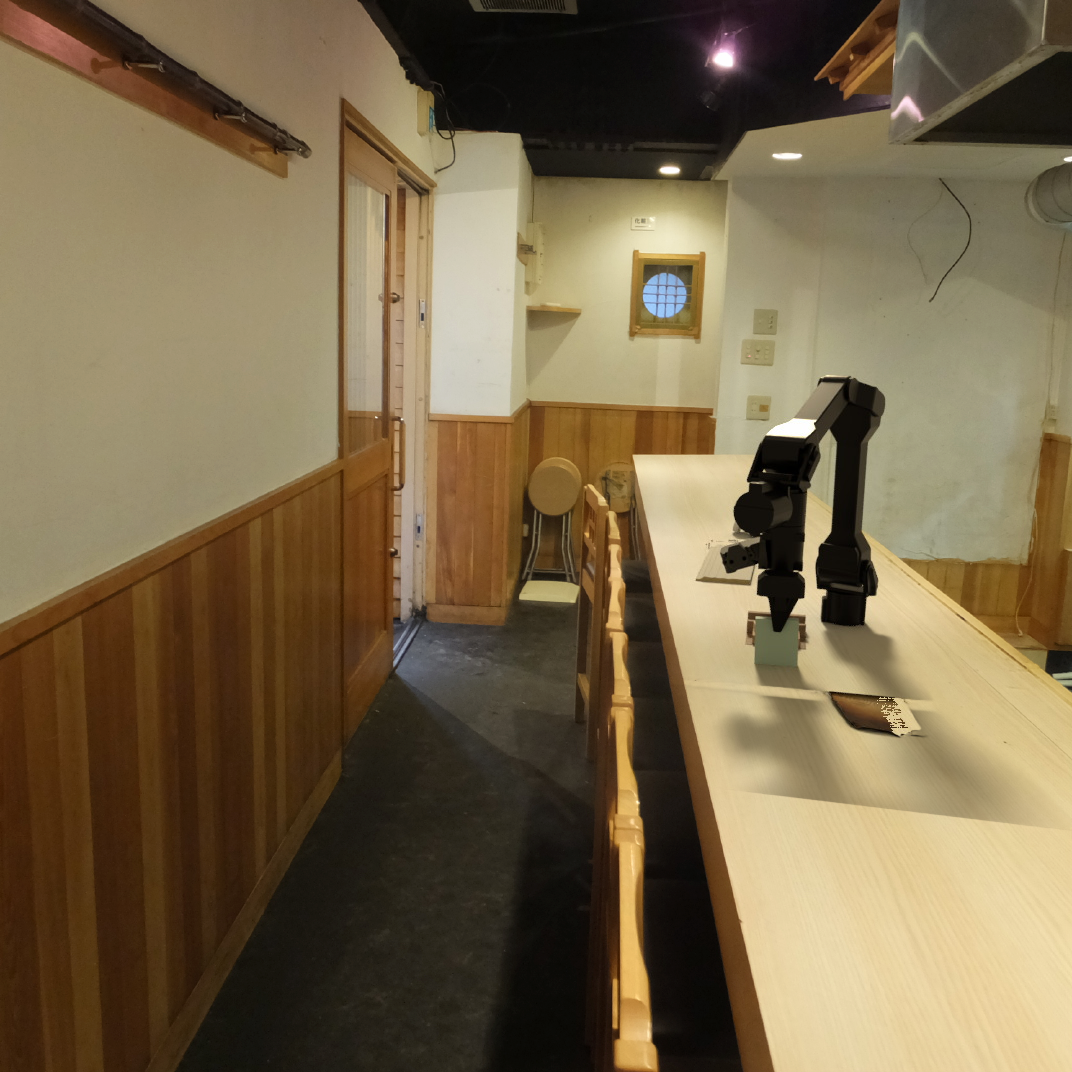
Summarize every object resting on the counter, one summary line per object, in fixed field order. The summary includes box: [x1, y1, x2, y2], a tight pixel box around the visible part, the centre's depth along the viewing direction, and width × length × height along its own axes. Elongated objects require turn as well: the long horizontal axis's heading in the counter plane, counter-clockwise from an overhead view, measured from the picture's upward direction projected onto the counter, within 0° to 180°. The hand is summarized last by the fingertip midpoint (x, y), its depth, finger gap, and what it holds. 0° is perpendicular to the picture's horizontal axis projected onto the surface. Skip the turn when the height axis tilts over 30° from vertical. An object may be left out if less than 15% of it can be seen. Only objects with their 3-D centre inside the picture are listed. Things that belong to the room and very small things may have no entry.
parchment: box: [828, 690, 908, 733], centre depth 126 cm, size 25×10×1 cm, turn 171°
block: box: [754, 616, 799, 668], centre depth 135 cm, size 6×1×7 cm, turn 76°
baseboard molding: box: [695, 539, 755, 585], centre depth 200 cm, size 31×3×12 cm
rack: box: [744, 610, 807, 650], centre depth 148 cm, size 9×10×4 cm
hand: (777, 630), depth 135 cm, fingers closed on block, 1 cm apart
